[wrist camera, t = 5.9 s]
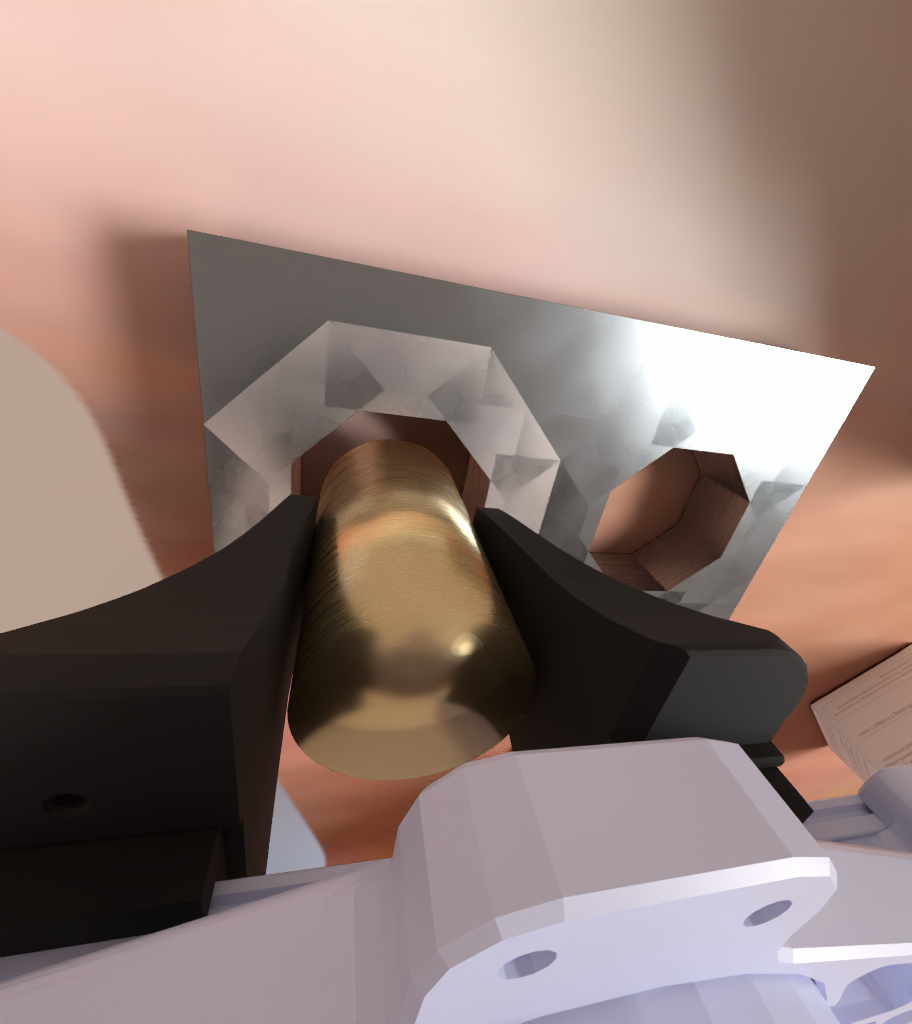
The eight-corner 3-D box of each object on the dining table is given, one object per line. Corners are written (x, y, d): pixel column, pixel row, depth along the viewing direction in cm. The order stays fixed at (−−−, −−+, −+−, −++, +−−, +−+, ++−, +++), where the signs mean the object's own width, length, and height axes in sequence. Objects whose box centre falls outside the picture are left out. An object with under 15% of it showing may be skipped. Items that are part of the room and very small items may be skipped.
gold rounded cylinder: (442, 562, 15) (501, 772, 9) (315, 554, 13) (283, 788, 8) (469, 449, 13) (566, 617, 7) (325, 429, 12) (292, 608, 6)
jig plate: (673, 613, 21) (708, 652, 19) (241, 611, 16) (223, 664, 14) (804, 353, 16) (875, 366, 14) (219, 237, 11) (186, 229, 9)
